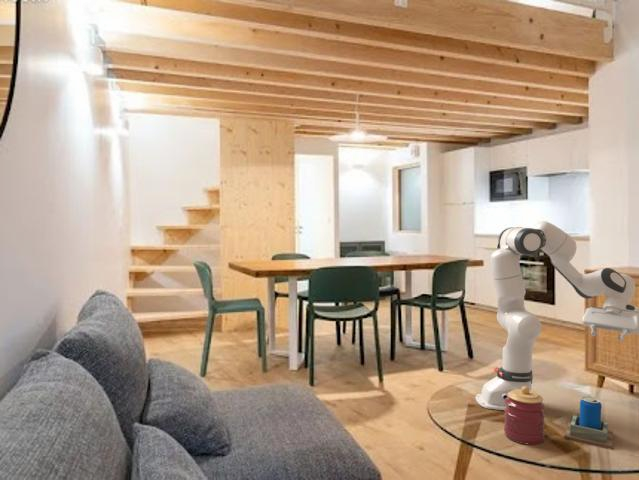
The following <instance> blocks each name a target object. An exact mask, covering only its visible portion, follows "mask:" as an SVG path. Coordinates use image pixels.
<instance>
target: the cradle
mask: <svg viewBox="0 0 639 480" xmlns="http://www.w3.org/2000/svg"><path fill="white" fill-rule="evenodd" d="M579 420H580V415H577V414H573V416H572V419H571V421H568V423H567V426H566V429H565V433H564V439H565V440H569V441H573V442H577V443H578V442H579V443H583V444H588V445H590V446H595V447H599V446H600V448H604V449H608V448H610V449H609V450H612V448H613V439H614V438H613V436H614V431H613V430H612V429H611V430H610V429H609V421H608V420H607V421H606V420H602V419H601V430H597V429H592V428H588V427H583V426H579Z"/></svg>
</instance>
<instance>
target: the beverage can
mask: <svg viewBox="0 0 639 480" xmlns="http://www.w3.org/2000/svg"><path fill="white" fill-rule="evenodd" d="M579 416H580V420H579V426H583V427H588V428H592V429H597V430H601V420H602V403H601V400H600V399H599V398H596V397H592V396H581V399H580V401H579Z"/></svg>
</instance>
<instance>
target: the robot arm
mask: <svg viewBox="0 0 639 480" xmlns="http://www.w3.org/2000/svg"><path fill="white" fill-rule="evenodd" d="M576 243H577V242H576V241H575V240H574V238H573V237H572V236H571V235H569V234H567V232H565V231H564V230H563V229H561V228H559V227H558V226H557V225H555V224H554V223H550V222H549V221H547V220H542V221H538V222H537V223H535V224H534V225H533V226H532V227H531V228H530V227H522V226H516V227H515V226H514V227H508V228H505V229H504V230H502V231H501V232H500V234H499V237H498V243H497V249H496V250H494V251H493V252H492V253H491V255H490V270H491V275H492V280H493V283H494V288H495V293H496V298H497V313H496V320H497V323H498V324H499V326H500V327H501V328H502V329H503V330H505V331H506V332H507V334H508V335H507V339H506V343H505V345H504V346H503V347H502V356H501V357H502V361H501V362H502V364H501V367H498V366H494V367H493V372H494V373H496V376H495V377H493V378H492V379H490V380H488V381H487V382H485V383H484V384H483V386H482V389H481V393H477V394H476V395H475V400H476V402H477V403H478V404H479V406H481V407H483V408H485V409H489V410H498V411H499V410H500V411H505V408H506V403H505V399H506V398H507V397H508V393H509V392H511V391H513V390H515V389H521V388H522V387H523V386H527V387H528V388H529V390H531V391H533V389H532V384H533V377H534V376H533V369H532V363H533V362H532V361H533V350H534V347H535V343H536V340H537V338H538V337H539V336H540V335H541V333H542V330H543V327H542V323H541V321H540V319H539V318H538V317H537V316H536V315H535V314H534V313H533V312H530V311H528V310H526V307H525V296H526V292H527V290H526V287H525V282H524V279H523V273H522V269H521V267H520V259H521V257H522V256H532V255H535V254H536V253H538V252H539V251H543V252H544V253H545V254H546V255H547V256H548V257H549V258H550V263H551V265H552V267H554V269H555V270H556V271H557V272H558V273H559V274H560V275H561V276H562V277H563V278H564V279H565V280H566V282H567V283H569V284H570V285H571V286H572V288H573V289H574V290H575V292H576V293H577V295H579V296H580V297H581V298H583V299H587V300H588V299H589V300H590V299H593V298H596V297H598V296H601V295H605V301H604V303H603V307H600V306H599V307H598V306H590V307H587V308H586V309H585V313H584V315H583V317H582V318H581V322H582V324H583V326H584V327H586V328H587V327H588V328H590V329H591V331H590V335H591V337H596V336H597V335H598V333H597V331H596V329H601V330H606V331H611V332H612V331H613V332H619V333H621V334H618V335H617V341H619V342H623V341H624V338H626V337H628V335H629V334H630V335H639V307H638V306H635V305H632V304H631V302H632V300H633V298H634V296H635V291H636V282H635V280H634V278H633V277H632V276H630V275H629V274H625V273H619V272H618V271H616V270H615V269H613V268H611V267H610V268H609V267H606V268H602V269H599V270H595V271H593V272H590V273H582V272H580V271H579V270H578V269H576V267H574V265H572V263H571V261H572V260H573V259H574V257H575V255H576V252H577V244H576Z"/></svg>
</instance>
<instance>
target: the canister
mask: <svg viewBox="0 0 639 480" xmlns="http://www.w3.org/2000/svg"><path fill="white" fill-rule="evenodd" d="M543 401H544V398H543V396H541V395H540V394H538V392H536V391H533V390H532V391H531V390H529V388H528V387H527V386H523V387H522V388H521V389H515V390H513V391H511V392H509V393H508V397H507V398H506V399H505V403H506V408H505V410H504V425H503V431H504V435H505V436H506V437H507V438H508V439H510V440H511V439H512V440H511V441H513V440H514V441H513V442H515V441H518V442H517V443H519V442H522V443H521V444H523V443H528V444H527V445H539V444H541V443H543V442H544V440H545V436H546V434H545V433H546V432H545V419H546V414H545V412H544V411H545V409H546V407H547V406H546V404H545V403H544V402H543Z"/></svg>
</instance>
